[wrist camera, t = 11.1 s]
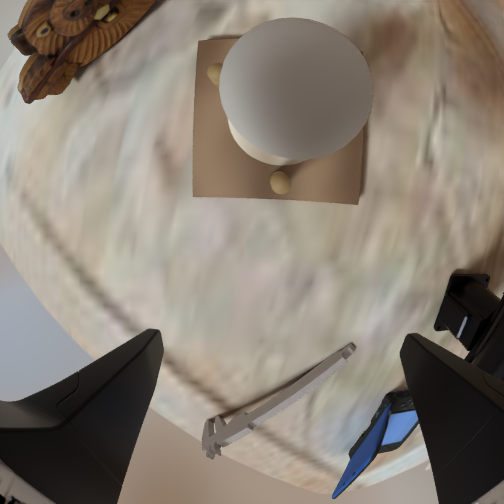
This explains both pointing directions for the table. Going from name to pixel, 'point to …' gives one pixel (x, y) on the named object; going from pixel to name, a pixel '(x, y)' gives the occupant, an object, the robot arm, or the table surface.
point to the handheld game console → (380, 435)
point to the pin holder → (259, 151)
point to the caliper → (269, 406)
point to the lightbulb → (296, 88)
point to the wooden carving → (67, 39)
